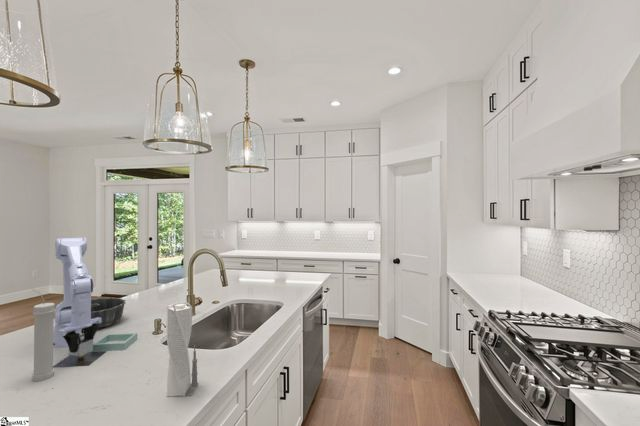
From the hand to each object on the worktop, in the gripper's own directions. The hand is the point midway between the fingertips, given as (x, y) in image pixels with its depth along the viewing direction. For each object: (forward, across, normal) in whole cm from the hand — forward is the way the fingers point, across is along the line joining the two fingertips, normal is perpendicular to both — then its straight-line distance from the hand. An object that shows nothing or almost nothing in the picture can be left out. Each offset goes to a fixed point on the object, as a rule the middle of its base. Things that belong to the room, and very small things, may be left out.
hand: (80, 348), depth 115 cm
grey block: (+1, 0, 0) cm, 1 cm away
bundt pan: (+5, +33, +32) cm, 46 cm away
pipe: (+5, -14, -1) cm, 14 cm away
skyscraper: (+5, -8, -48) cm, 49 cm away
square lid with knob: (+5, 0, 0) cm, 5 cm away
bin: (+5, +13, -1) cm, 14 cm away
